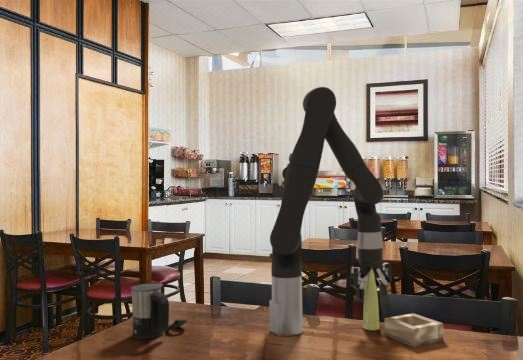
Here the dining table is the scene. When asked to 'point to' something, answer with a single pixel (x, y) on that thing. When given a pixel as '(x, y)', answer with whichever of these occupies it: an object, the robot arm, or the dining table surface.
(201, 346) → the dining table surface
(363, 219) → the robot arm
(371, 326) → the tube
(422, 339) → the socket block
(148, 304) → the milk frother
